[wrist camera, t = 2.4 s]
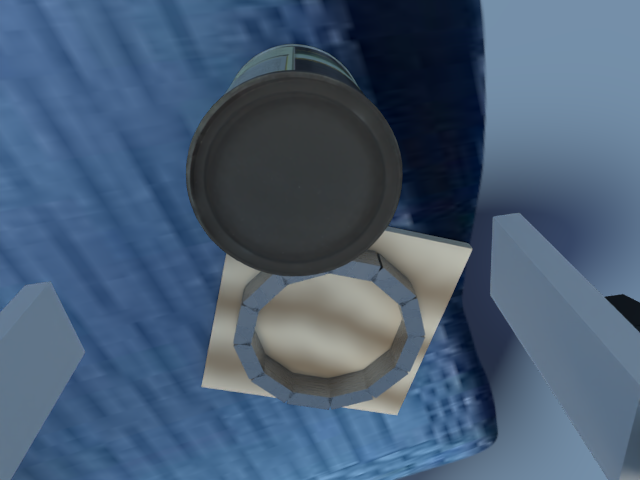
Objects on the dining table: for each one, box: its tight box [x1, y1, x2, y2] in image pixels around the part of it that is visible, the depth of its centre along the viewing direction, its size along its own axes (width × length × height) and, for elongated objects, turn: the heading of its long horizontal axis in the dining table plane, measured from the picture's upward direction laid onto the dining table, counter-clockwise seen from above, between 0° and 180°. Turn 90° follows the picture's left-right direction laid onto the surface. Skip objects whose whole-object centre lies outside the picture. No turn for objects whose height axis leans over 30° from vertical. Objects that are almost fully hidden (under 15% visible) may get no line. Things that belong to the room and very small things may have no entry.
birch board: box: [201, 226, 472, 415], centre depth 43 cm, size 20×20×1 cm
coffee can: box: [186, 44, 403, 276], centre depth 29 cm, size 10×10×14 cm
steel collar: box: [233, 250, 425, 410], centre depth 41 cm, size 16×16×2 cm
